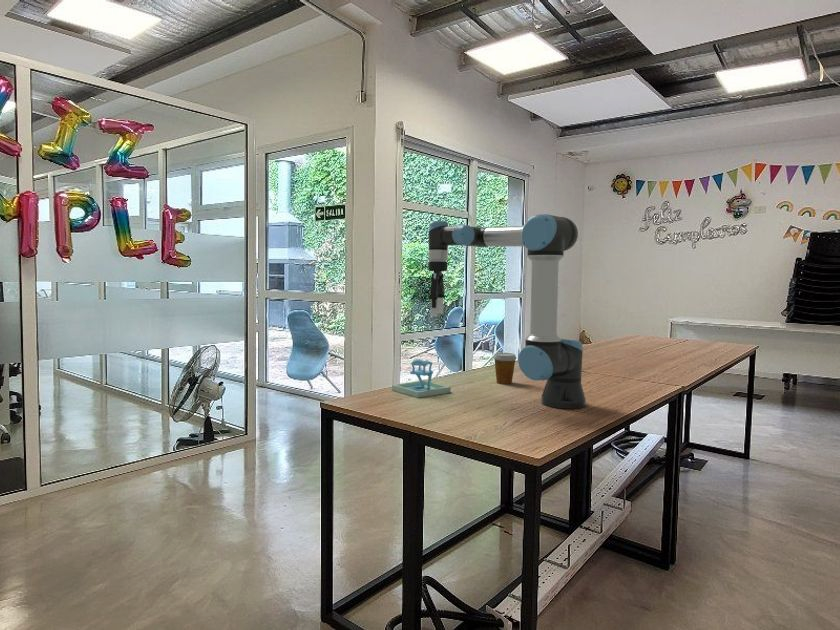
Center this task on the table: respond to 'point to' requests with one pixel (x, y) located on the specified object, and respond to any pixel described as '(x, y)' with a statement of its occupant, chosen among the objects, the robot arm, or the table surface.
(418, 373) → the chair
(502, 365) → the disposable coffee cup
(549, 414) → the table surface
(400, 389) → the tray
